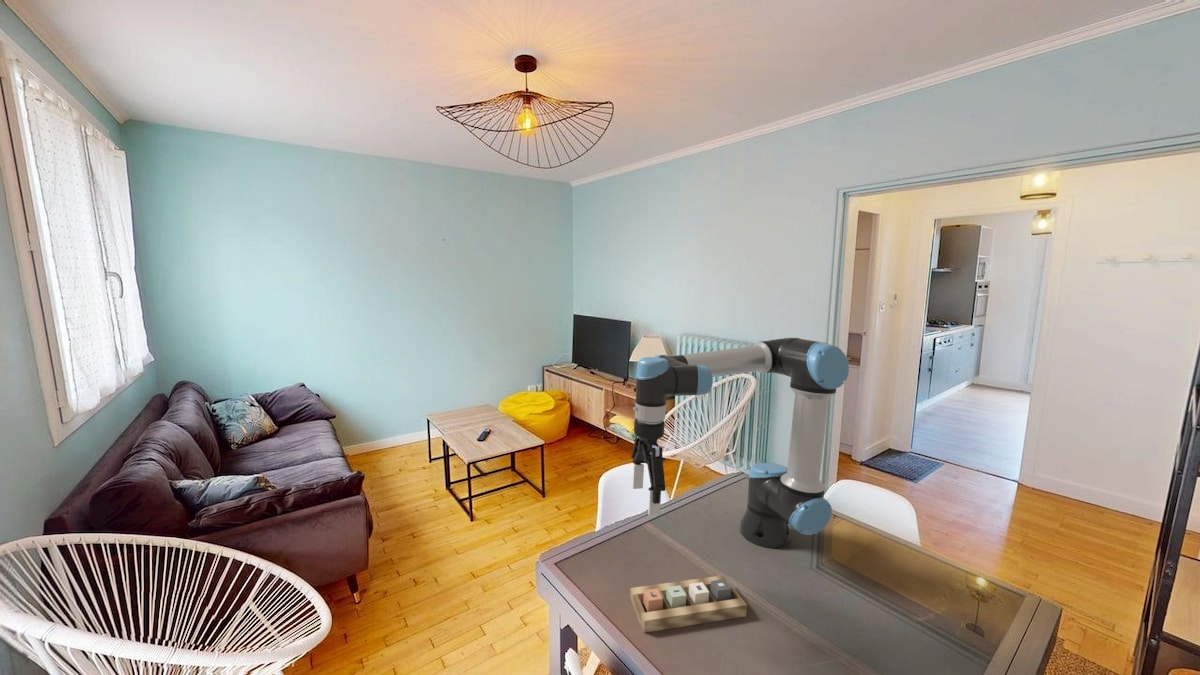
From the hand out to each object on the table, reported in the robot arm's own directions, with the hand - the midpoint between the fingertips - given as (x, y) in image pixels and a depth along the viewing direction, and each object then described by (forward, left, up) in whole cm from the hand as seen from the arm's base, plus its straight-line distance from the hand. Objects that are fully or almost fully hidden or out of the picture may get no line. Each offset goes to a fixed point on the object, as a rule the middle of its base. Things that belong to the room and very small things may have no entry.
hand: (645, 500), depth 113 cm
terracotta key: (0, +9, -23) cm, 24 cm away
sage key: (-6, +9, -23) cm, 25 cm away
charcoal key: (-18, +9, -23) cm, 30 cm away
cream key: (-12, +9, -23) cm, 27 cm away
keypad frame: (-9, +9, -24) cm, 27 cm away
